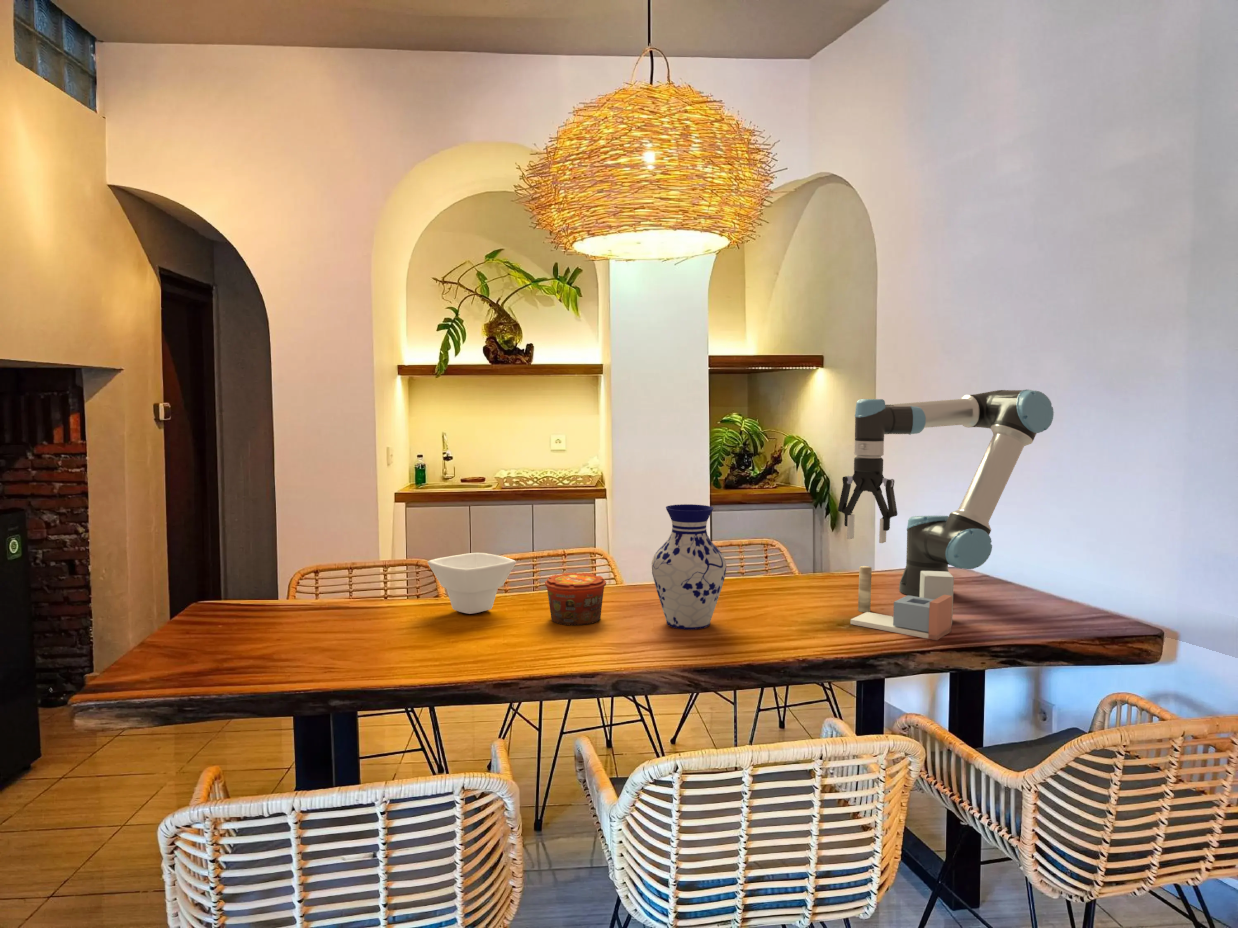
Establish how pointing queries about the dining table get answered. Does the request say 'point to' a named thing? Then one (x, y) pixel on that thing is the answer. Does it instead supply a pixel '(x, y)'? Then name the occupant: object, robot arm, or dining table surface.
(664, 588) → the vase
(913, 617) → the socket block
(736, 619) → the dining table surface
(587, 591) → the food container
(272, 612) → the dining table surface
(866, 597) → the dowel
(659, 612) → the dining table surface
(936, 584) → the supplement box
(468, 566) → the bowl
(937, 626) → the peg insertion fixture
